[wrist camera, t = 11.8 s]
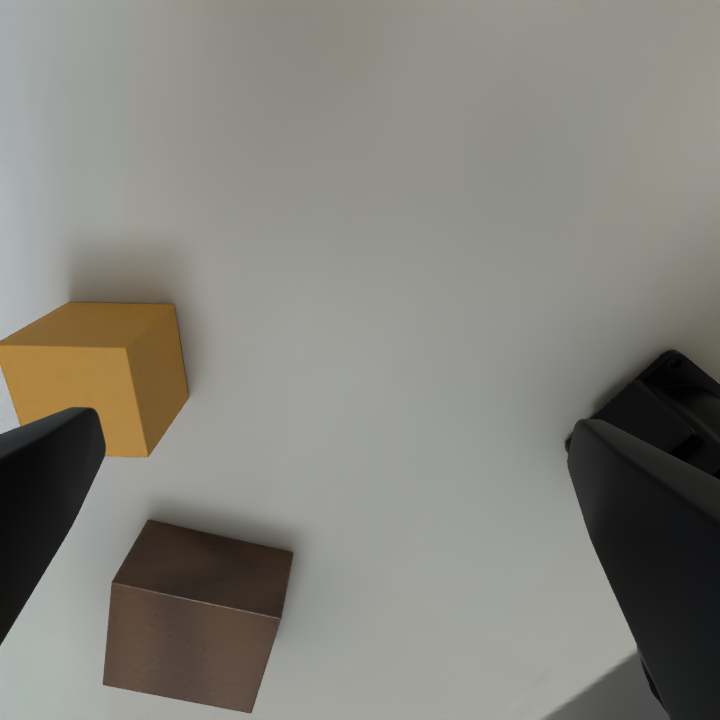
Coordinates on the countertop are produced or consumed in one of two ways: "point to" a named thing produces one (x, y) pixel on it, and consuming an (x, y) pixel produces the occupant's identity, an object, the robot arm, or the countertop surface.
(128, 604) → the walnut block
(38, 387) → the ochre cube
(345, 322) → the countertop surface
